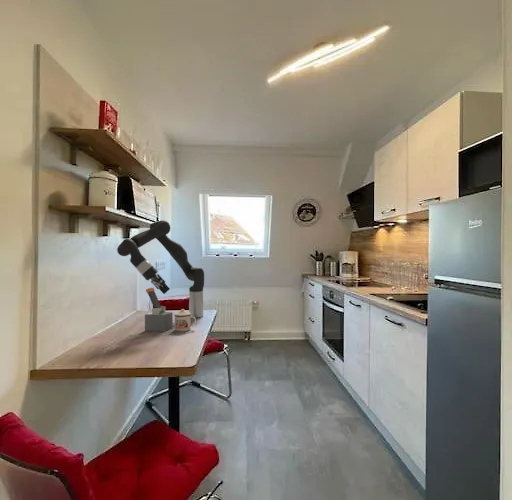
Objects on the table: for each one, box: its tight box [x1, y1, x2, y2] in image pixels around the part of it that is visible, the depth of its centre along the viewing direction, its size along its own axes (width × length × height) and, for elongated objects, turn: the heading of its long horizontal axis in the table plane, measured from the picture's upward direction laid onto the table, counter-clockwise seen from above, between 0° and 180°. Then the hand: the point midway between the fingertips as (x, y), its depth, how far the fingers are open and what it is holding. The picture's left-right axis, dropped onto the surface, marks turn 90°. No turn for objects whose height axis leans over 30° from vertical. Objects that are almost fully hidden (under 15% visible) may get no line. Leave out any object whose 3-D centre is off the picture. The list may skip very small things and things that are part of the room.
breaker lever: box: [145, 286, 163, 312], centre depth 206 cm, size 2×5×15 cm, turn 166°
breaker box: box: [144, 305, 174, 333], centre depth 205 cm, size 12×10×13 cm
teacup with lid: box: [174, 308, 197, 332], centre depth 203 cm, size 12×9×12 cm
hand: (167, 291), depth 197 cm, fingers open, 8 cm apart
